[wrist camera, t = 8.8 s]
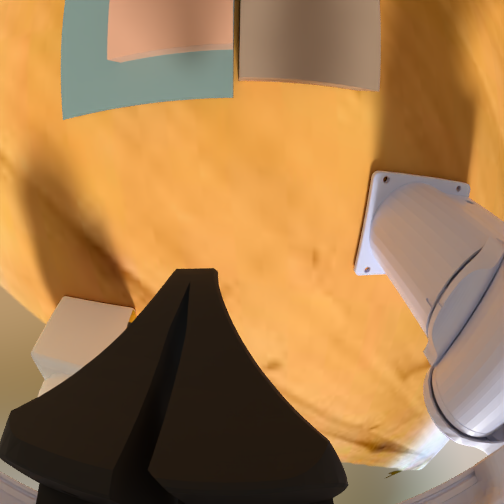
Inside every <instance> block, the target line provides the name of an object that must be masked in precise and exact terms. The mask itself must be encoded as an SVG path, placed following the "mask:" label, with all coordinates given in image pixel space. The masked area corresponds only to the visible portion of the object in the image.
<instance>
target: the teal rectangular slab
mask: <svg viewBox="0 0 504 504" xmlns="http://www.w3.org/2000/svg"><path fill="white" fill-rule="evenodd" d="M109 2H110V0H65V8H64V17H63V28H62V44H61V94H62V111H63V120H65V119H69V118H73V117H77V116H81V115H85V114H90V113H95V112H99V111H104V110H110V109H115V108H121V107H127V106H134V105H141V104H148V103H156V102H165V101H175V100H187V99H203V98H233V50H209V51H195V52H184V53H175V54H167V55H160V56H153V57H147V58H142V59H136V60H131V61H126V62H121V63H120V62H115V61H110V60H107V37H108V15H109ZM233 49H234V0H233Z"/></svg>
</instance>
